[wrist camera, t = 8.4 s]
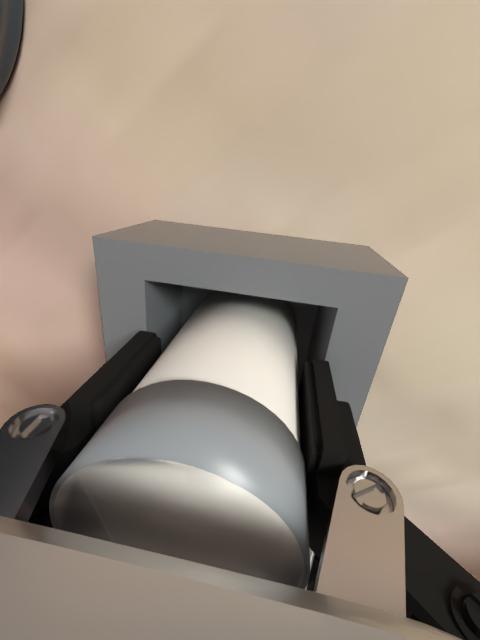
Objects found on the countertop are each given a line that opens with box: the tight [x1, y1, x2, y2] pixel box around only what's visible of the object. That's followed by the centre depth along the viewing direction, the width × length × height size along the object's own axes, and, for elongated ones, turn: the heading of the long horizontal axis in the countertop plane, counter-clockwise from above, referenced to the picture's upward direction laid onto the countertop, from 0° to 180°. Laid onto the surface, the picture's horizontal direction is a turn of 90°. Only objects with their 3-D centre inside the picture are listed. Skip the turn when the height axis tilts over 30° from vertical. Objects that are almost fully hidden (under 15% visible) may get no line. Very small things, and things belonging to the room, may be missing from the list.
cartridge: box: [49, 290, 310, 589], centre depth 10 cm, size 5×5×10 cm
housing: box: [92, 220, 408, 558], centre depth 15 cm, size 10×15×5 cm, turn 174°
